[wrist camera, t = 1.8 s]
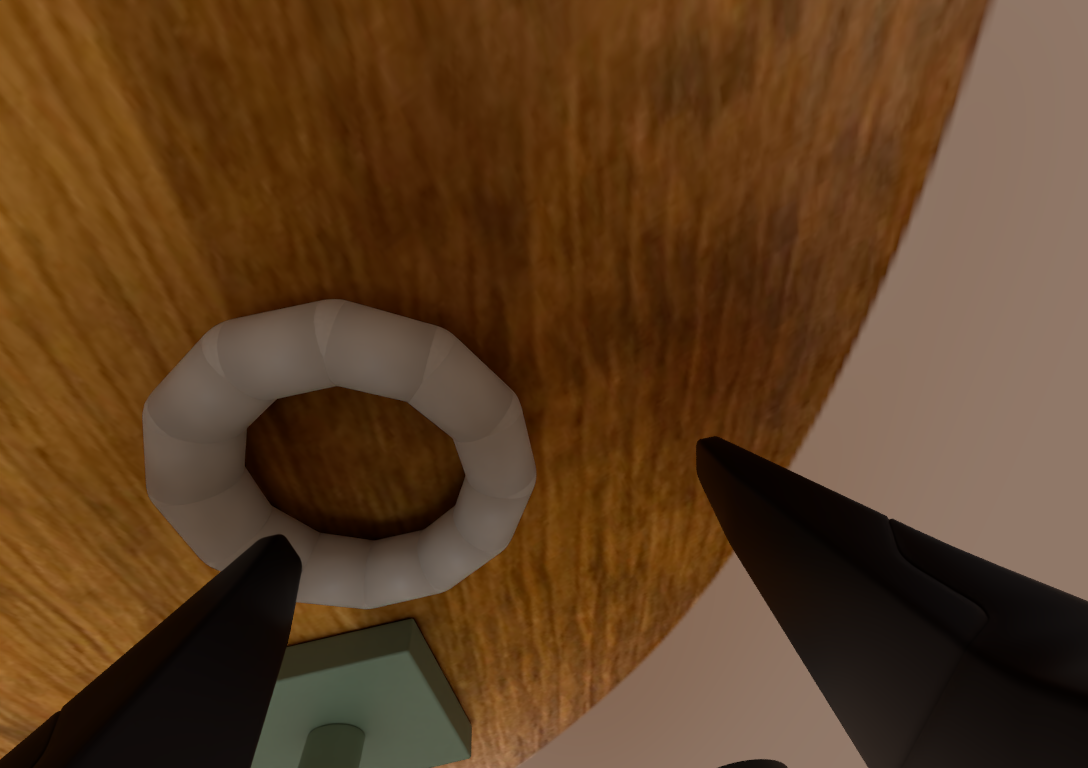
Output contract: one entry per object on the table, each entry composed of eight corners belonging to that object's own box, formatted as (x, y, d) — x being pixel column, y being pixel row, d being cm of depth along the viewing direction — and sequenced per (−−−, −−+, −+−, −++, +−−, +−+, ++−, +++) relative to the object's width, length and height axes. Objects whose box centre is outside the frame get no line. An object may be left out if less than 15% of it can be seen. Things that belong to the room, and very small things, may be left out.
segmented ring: (552, 531, 14) (561, 579, 12) (281, 592, 14) (254, 649, 12) (487, 257, 9) (487, 277, 8) (91, 340, 9) (10, 378, 8)
